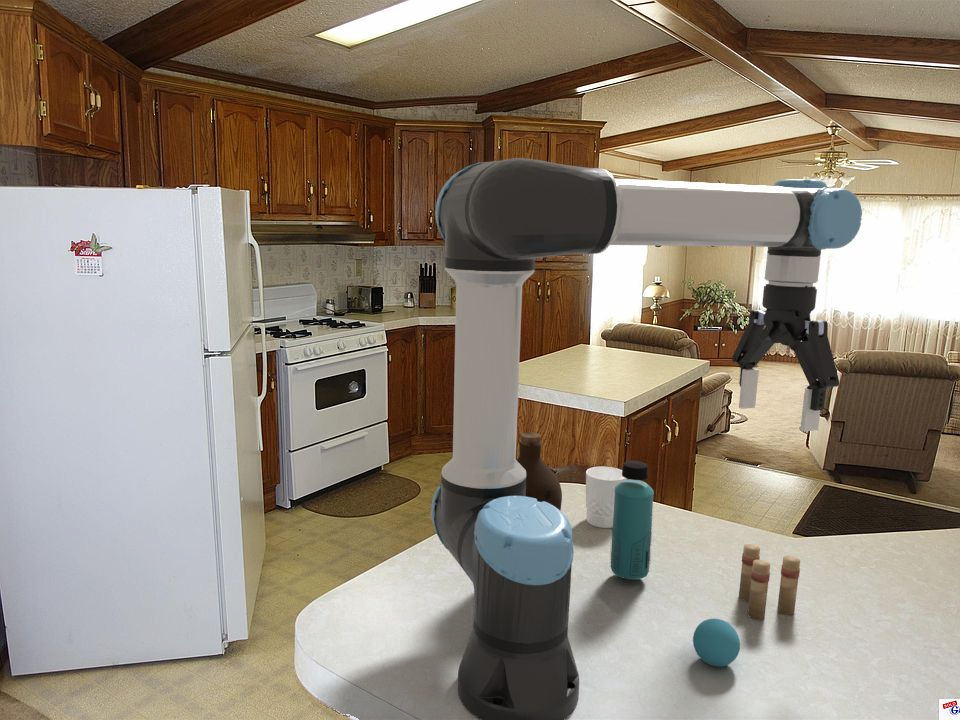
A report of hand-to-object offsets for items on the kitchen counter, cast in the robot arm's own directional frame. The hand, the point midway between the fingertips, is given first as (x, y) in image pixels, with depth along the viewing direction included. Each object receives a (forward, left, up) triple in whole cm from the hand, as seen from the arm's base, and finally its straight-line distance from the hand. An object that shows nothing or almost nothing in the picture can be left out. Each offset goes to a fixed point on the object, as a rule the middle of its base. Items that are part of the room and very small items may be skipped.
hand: (776, 418), depth 116 cm
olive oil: (-37, +12, -28) cm, 48 cm away
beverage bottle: (-20, +8, -28) cm, 36 cm away
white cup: (-12, +30, -28) cm, 43 cm away
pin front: (-8, -8, -28) cm, 30 cm away
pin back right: (-2, -9, -28) cm, 29 cm away
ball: (-22, -16, -25) cm, 37 cm away
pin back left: (-5, -4, -28) cm, 29 cm away
